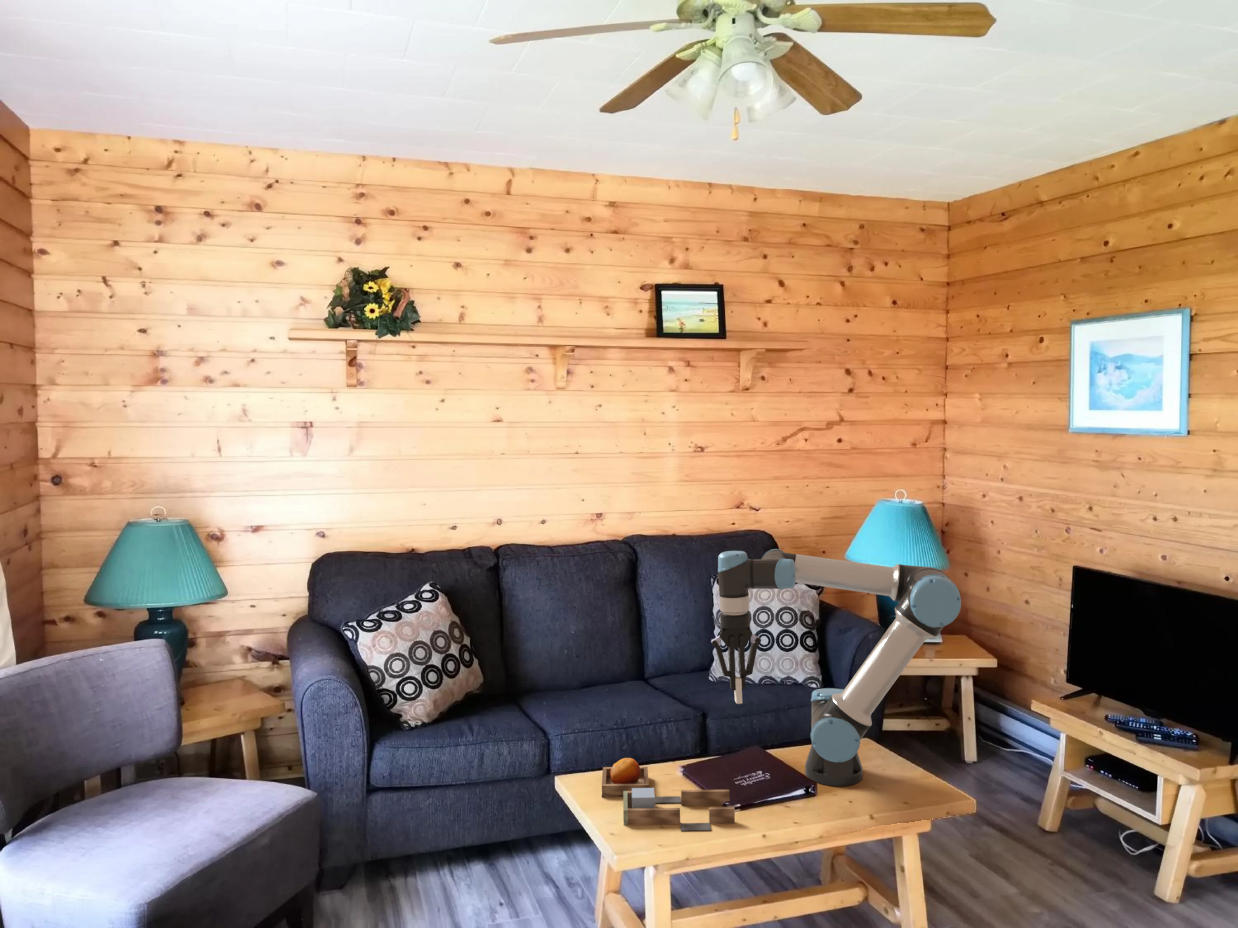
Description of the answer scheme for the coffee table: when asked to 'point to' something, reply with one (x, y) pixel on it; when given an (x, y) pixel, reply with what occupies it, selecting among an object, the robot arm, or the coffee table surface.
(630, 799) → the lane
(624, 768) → the fruit
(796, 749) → the coffee table surface
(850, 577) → the robot arm
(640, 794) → the block
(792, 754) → the coffee table surface
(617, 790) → the tray
